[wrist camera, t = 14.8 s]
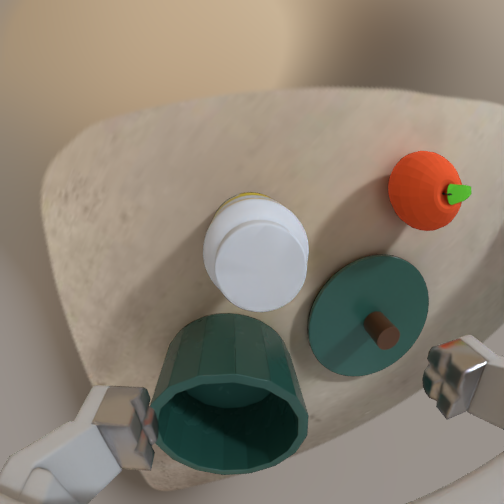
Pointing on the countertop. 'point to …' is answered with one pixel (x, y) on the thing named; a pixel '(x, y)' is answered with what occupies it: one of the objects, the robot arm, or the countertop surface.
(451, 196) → the clementine
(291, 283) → the pill bottle
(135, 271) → the countertop surface
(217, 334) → the tin
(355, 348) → the lid
